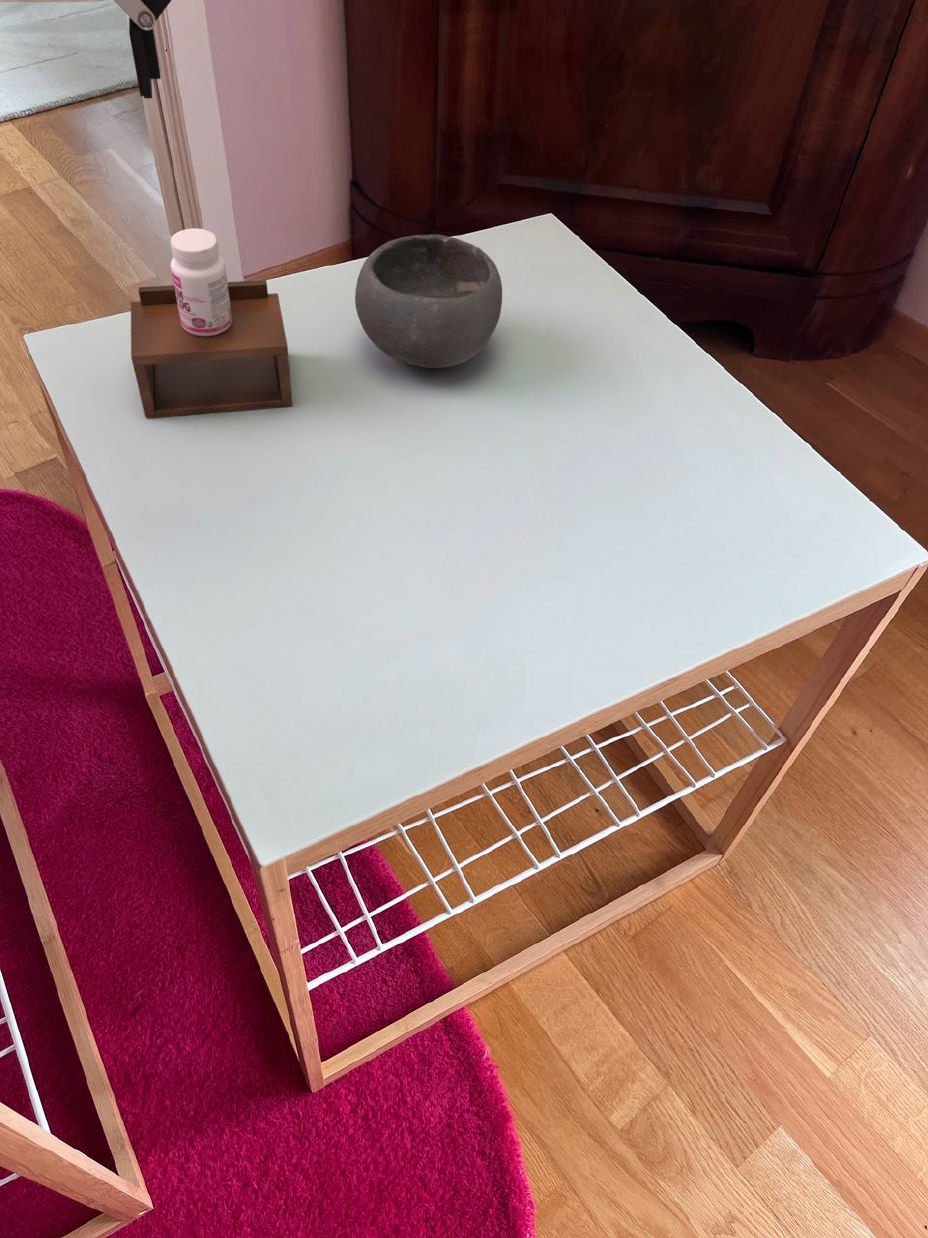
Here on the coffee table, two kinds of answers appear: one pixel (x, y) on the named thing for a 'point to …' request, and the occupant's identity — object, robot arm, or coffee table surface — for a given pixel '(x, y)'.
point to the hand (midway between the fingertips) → (70, 91)
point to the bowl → (429, 300)
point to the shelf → (210, 355)
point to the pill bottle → (200, 282)
